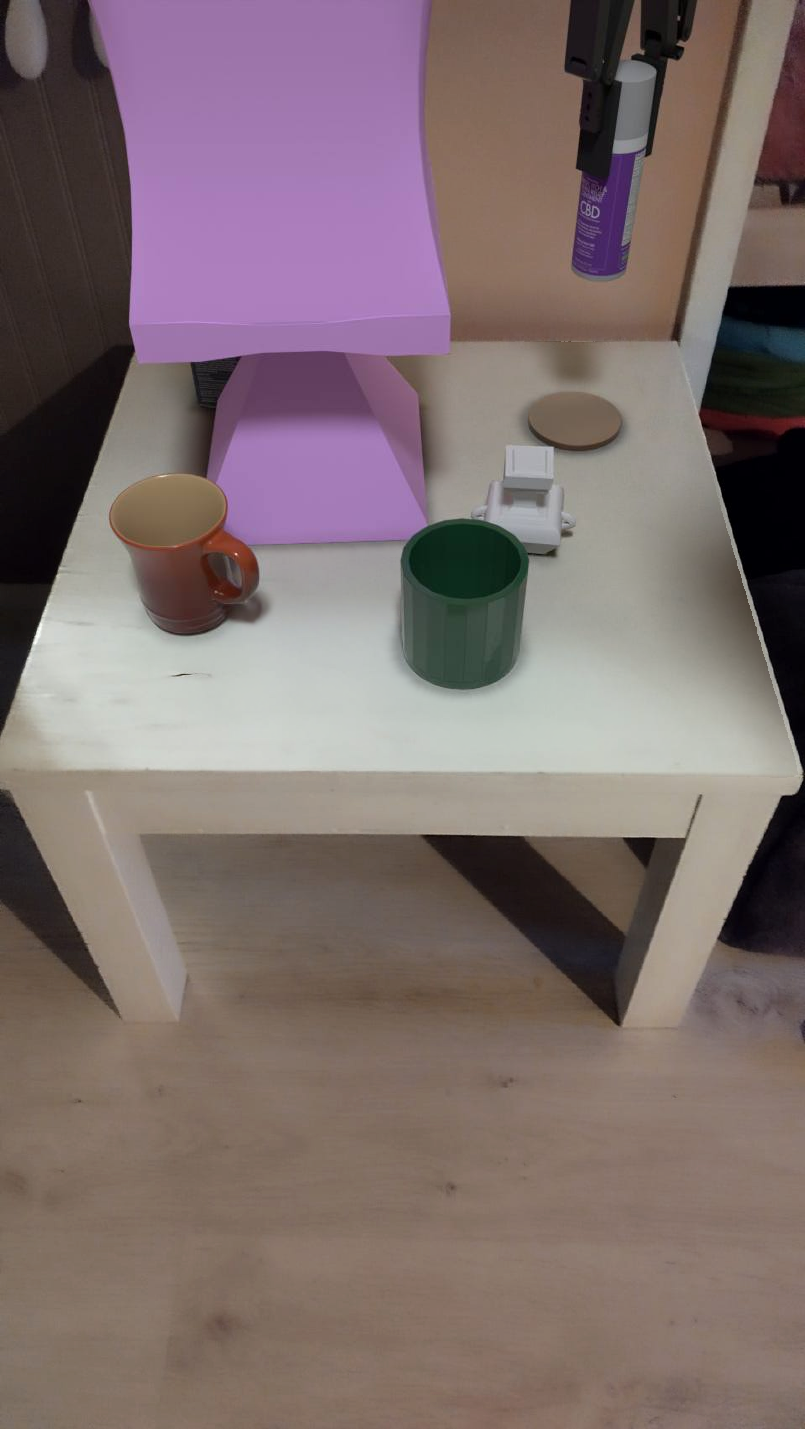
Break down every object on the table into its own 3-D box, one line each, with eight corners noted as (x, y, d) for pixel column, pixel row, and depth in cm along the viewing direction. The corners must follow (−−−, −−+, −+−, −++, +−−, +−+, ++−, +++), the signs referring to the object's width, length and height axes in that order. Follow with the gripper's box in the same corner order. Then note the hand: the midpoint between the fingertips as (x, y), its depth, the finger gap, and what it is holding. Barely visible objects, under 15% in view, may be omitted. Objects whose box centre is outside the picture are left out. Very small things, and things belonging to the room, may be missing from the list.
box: (251, 412, 101) (236, 309, 92) (196, 407, 101) (177, 305, 93) (270, 368, 106) (257, 267, 97) (217, 364, 106) (200, 263, 98)
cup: (543, 645, 80) (555, 559, 73) (463, 708, 76) (468, 624, 69) (458, 588, 84) (461, 502, 77) (378, 646, 80) (374, 560, 73)
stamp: (574, 517, 90) (586, 437, 83) (572, 568, 85) (584, 488, 79) (473, 510, 90) (477, 429, 84) (465, 559, 86) (469, 479, 80)
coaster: (639, 422, 99) (640, 417, 98) (581, 463, 95) (582, 457, 94) (567, 386, 103) (568, 380, 102) (508, 423, 99) (509, 418, 98)
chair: (431, 400, 101) (437, -198, 67) (444, 549, 87) (461, -112, 52) (207, 407, 101) (96, -190, 66) (184, 558, 87) (27, -101, 52)
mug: (115, 620, 82) (83, 521, 74) (185, 558, 87) (162, 459, 79) (231, 678, 78) (210, 580, 70) (298, 610, 83) (286, 511, 75)
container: (564, 276, 86) (586, 77, 74) (579, 251, 88) (603, 56, 77) (618, 286, 84) (650, 86, 73) (632, 260, 87) (664, 63, 76)
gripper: (703, -267, 67) (643, 116, 85) (528, -230, 59) (503, 183, 77) (803, -255, 64) (718, 141, 82) (631, -214, 56) (579, 214, 74)
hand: (613, 161), depth 80 cm, fingers closed on container, 5 cm apart
